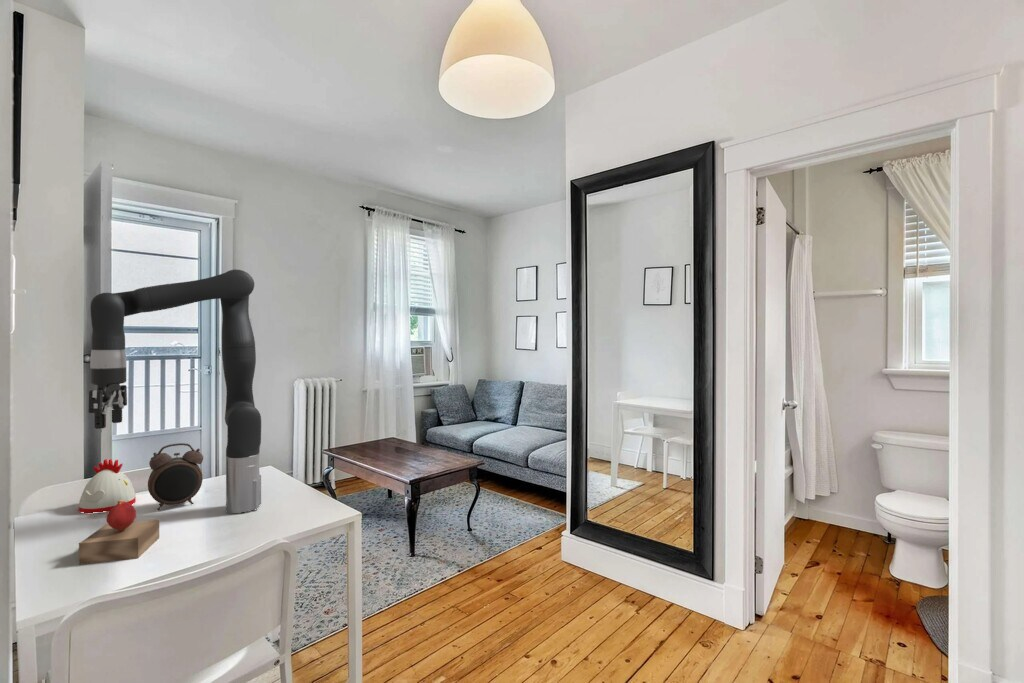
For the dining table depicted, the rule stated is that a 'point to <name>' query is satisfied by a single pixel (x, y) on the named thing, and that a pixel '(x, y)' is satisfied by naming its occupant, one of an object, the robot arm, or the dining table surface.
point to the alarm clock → (175, 476)
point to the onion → (121, 516)
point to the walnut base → (119, 542)
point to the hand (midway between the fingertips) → (108, 425)
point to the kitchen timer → (106, 489)
